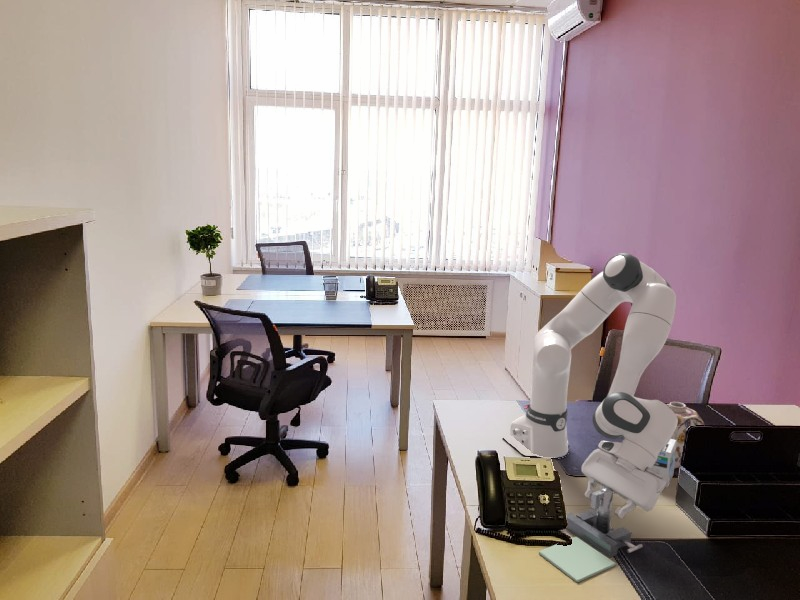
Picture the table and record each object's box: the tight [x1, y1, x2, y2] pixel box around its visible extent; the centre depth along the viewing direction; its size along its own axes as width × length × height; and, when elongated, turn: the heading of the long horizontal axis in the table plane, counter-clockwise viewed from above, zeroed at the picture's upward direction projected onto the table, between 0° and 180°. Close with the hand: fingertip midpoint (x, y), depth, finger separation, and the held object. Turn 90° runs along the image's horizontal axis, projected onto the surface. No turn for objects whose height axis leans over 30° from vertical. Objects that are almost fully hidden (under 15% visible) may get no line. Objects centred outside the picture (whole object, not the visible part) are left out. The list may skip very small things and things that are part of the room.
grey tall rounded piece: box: [590, 486, 615, 535], centre depth 150 cm, size 6×7×12 cm
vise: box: [566, 508, 644, 558], centre depth 150 cm, size 17×9×3 cm, turn 30°
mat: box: [538, 536, 616, 583], centre depth 142 cm, size 12×12×1 cm
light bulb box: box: [651, 439, 677, 488], centre depth 179 cm, size 11×7×11 cm, turn 148°
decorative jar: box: [667, 401, 705, 470], centre depth 190 cm, size 12×12×18 cm
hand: (602, 506), depth 150 cm, fingers open, 8 cm apart
